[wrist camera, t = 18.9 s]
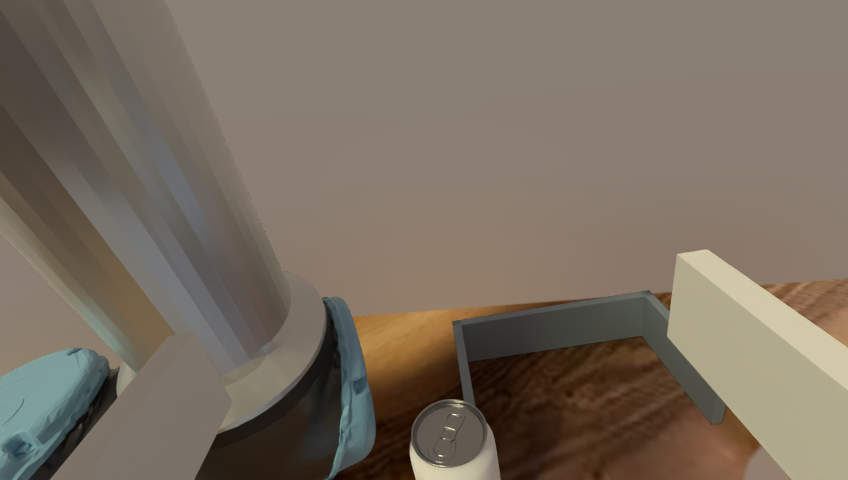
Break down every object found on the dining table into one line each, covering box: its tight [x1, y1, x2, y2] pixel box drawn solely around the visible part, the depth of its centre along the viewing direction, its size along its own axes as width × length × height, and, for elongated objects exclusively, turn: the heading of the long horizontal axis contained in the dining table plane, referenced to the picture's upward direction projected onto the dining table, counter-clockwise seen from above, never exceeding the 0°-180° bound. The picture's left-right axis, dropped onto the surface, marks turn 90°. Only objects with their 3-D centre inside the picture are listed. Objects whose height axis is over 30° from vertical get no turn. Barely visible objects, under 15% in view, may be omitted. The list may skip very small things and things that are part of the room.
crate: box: [452, 290, 726, 425], centre depth 44 cm, size 14×24×6 cm, turn 92°
